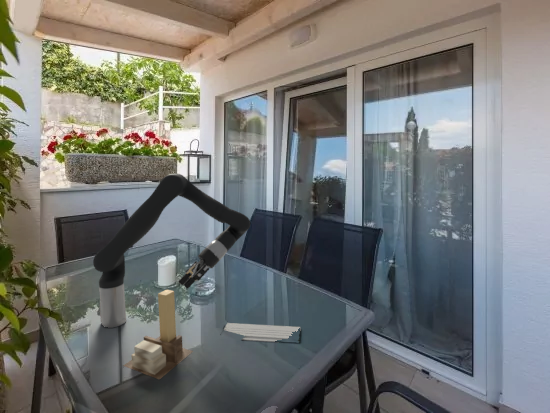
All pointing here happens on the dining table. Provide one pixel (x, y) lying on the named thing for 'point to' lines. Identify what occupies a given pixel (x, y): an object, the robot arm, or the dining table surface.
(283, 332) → the baseboard molding
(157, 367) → the offcut low
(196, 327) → the dining table surface
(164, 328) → the slat
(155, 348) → the offcut top
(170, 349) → the rack
